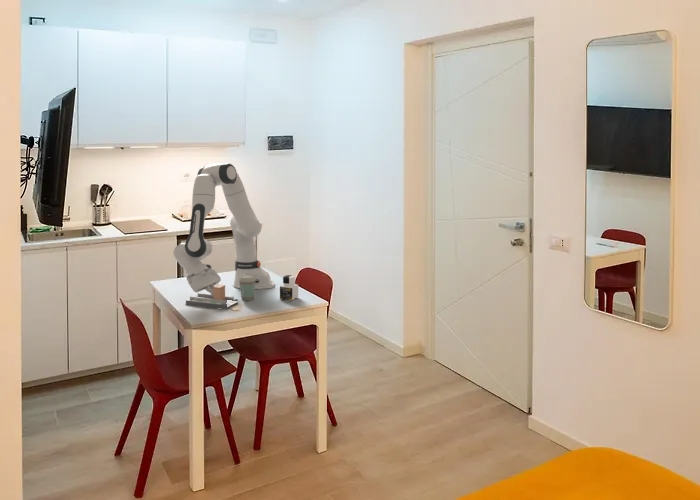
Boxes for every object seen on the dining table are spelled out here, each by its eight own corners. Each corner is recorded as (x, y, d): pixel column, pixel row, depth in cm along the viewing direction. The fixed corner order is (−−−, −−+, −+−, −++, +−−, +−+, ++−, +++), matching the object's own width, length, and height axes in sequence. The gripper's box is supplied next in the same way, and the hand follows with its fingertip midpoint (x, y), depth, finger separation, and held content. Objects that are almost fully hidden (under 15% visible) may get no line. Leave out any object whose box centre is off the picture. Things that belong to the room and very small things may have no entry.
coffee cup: (241, 296, 321) (241, 274, 319) (257, 297, 320) (257, 274, 318) (237, 301, 313) (236, 278, 310) (253, 301, 312) (253, 278, 310)
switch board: (185, 304, 306) (185, 297, 305) (199, 298, 317) (199, 291, 316) (225, 309, 299) (224, 302, 298) (237, 302, 310) (237, 296, 309)
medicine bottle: (279, 299, 317) (279, 276, 315) (286, 296, 323) (285, 273, 321) (292, 301, 314) (292, 278, 312) (298, 297, 321) (298, 275, 319)
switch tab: (213, 301, 304) (212, 286, 303) (218, 298, 309) (218, 284, 308) (220, 302, 303) (219, 287, 302) (225, 299, 308) (225, 285, 306)
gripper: (188, 272, 297) (206, 295, 296) (212, 264, 316) (229, 285, 314) (181, 280, 299) (199, 302, 298) (205, 271, 318) (221, 292, 317)
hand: (214, 293), depth 306 cm, fingers closed, pressing on switch tab
